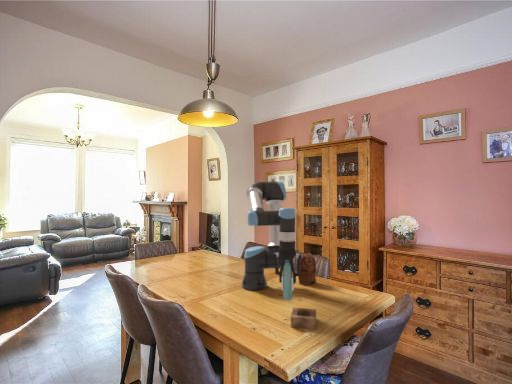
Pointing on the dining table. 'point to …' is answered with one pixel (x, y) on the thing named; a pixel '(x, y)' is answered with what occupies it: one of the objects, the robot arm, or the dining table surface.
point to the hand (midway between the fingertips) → (287, 289)
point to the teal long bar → (287, 281)
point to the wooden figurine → (307, 270)
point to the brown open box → (303, 318)
